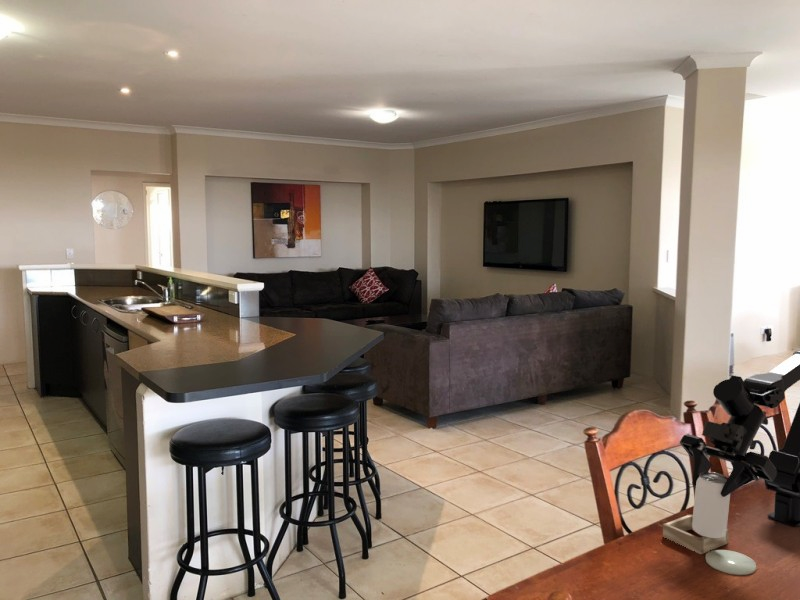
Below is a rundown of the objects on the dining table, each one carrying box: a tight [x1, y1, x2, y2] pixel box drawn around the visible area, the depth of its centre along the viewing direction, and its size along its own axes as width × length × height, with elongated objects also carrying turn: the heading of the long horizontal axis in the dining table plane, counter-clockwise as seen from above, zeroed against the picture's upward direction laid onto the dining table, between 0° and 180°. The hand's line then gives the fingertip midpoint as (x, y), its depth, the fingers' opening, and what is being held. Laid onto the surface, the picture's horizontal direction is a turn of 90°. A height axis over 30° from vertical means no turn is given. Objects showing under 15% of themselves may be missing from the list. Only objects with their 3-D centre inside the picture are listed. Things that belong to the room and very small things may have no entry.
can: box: [692, 471, 731, 539], centre depth 134 cm, size 6×6×12 cm
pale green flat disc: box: [705, 549, 757, 576], centre depth 130 cm, size 9×9×1 cm
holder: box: [662, 514, 729, 555], centre depth 140 cm, size 9×9×3 cm
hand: (707, 490), depth 133 cm, fingers closed on can, 6 cm apart
